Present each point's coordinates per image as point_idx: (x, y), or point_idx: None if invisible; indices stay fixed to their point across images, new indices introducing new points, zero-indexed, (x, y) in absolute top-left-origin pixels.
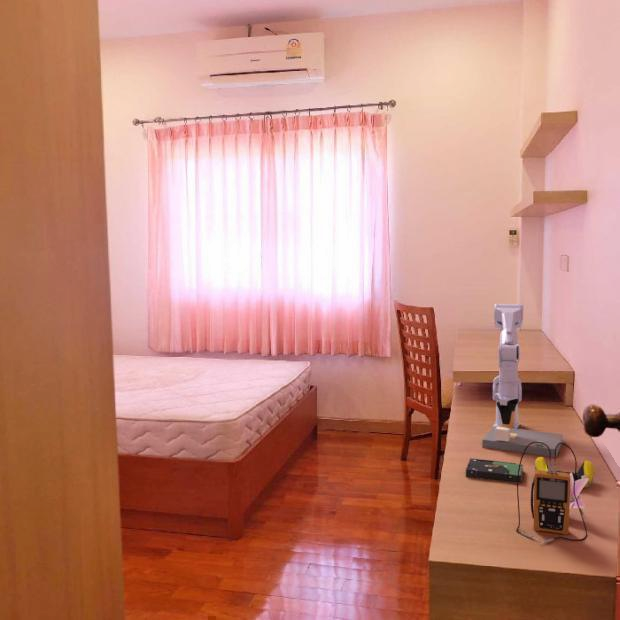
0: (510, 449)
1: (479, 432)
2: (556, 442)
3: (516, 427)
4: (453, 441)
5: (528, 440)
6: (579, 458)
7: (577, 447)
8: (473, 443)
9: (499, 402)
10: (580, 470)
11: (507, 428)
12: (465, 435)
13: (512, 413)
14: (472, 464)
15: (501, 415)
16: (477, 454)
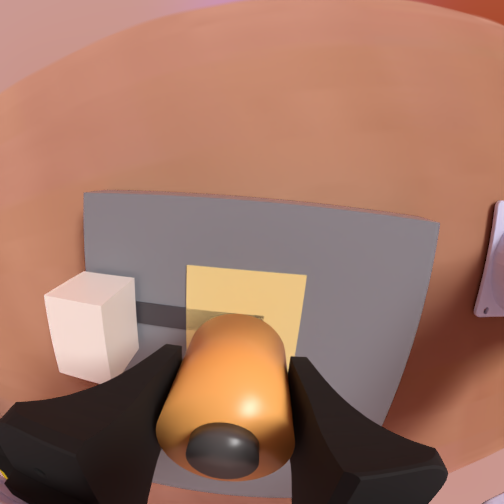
0: None
1: (401, 129)
2: (217, 488)
3: (496, 314)
4: (154, 29)
5: None
6: (169, 495)
7: (286, 500)
8: (154, 128)
9: (38, 461)
10: (5, 463)
11: (92, 369)
12: (303, 56)
13: (187, 467)
14: None
15: (122, 378)
16: (15, 195)
